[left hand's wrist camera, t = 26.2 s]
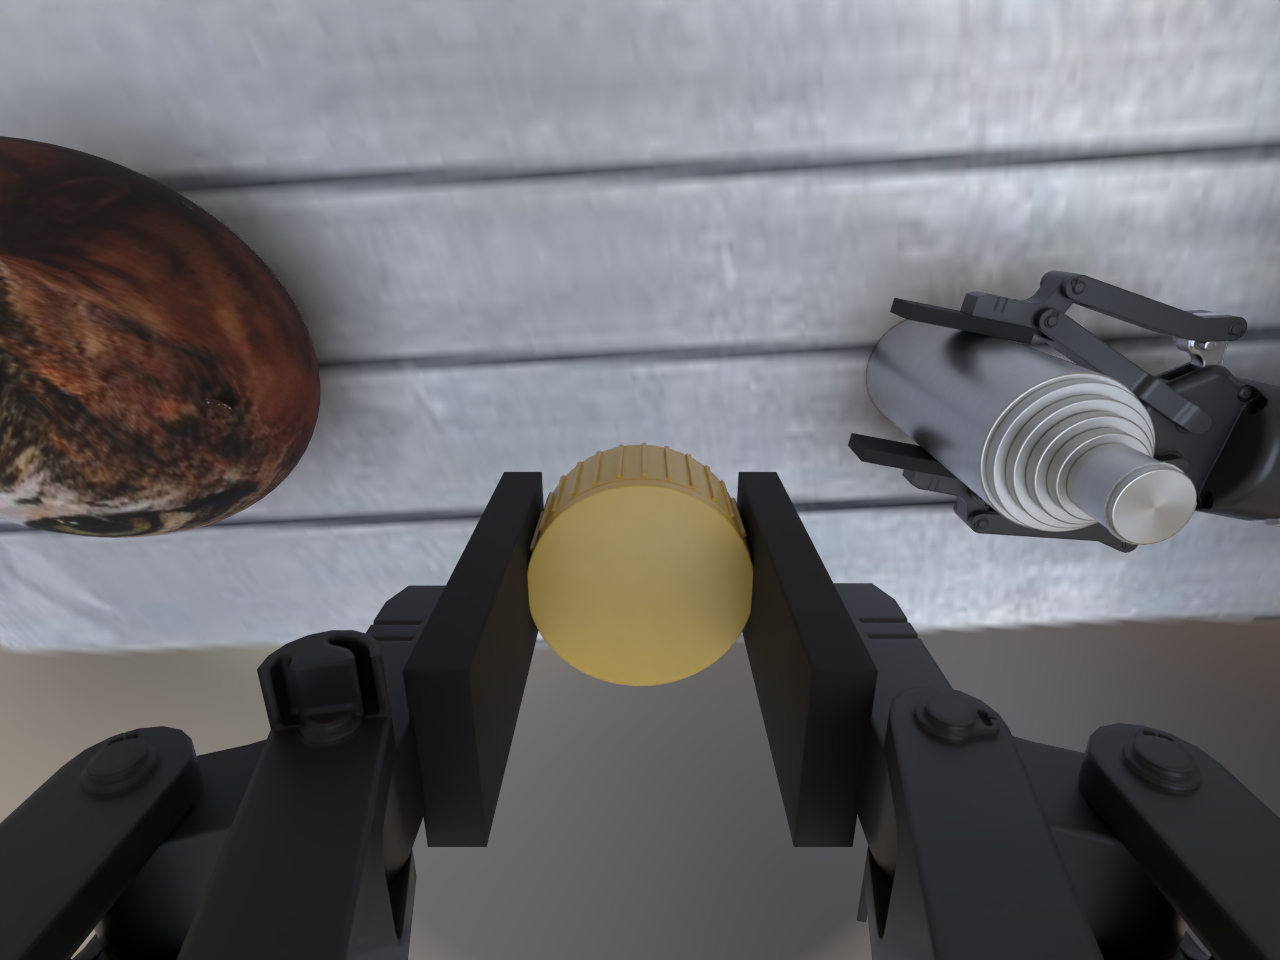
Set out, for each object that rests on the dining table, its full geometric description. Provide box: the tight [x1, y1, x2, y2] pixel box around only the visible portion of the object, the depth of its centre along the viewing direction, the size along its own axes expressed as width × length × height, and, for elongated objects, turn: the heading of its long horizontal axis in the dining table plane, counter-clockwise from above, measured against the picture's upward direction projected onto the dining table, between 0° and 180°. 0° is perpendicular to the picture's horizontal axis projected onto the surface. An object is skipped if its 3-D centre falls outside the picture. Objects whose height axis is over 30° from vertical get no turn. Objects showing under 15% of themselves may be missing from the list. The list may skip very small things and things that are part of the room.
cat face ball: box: [0, 136, 320, 538], centre depth 36 cm, size 22×18×20 cm
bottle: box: [866, 320, 1197, 545], centre depth 34 cm, size 7×7×22 cm
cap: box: [527, 443, 753, 686], centre depth 13 cm, size 4×4×2 cm
